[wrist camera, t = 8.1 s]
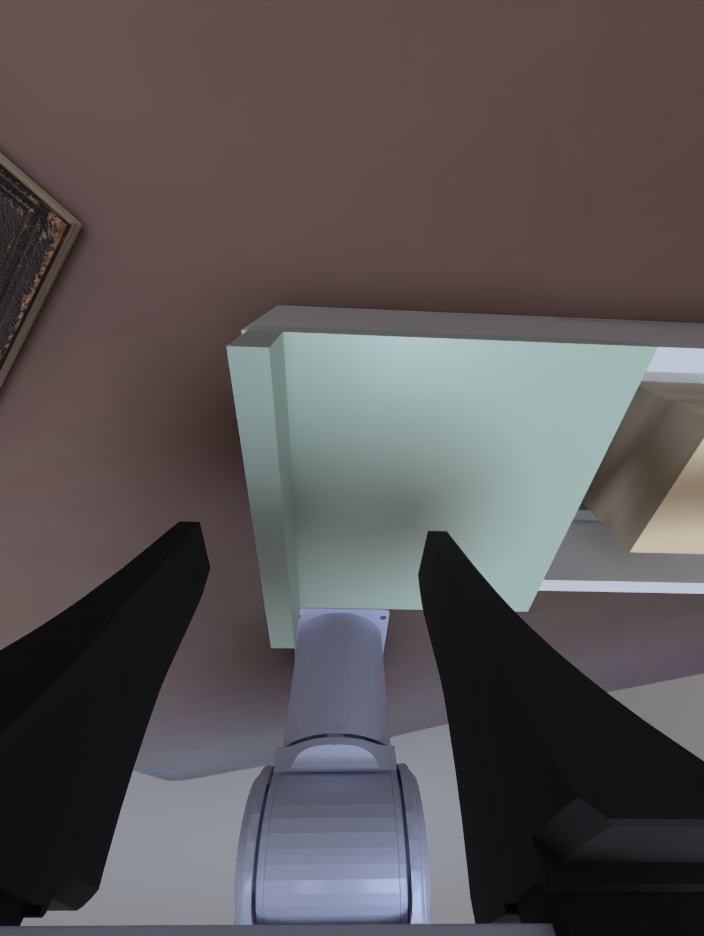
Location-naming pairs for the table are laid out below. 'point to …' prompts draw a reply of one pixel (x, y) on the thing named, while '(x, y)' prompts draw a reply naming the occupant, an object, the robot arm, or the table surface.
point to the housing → (587, 540)
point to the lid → (417, 456)
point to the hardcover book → (27, 255)
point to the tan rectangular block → (655, 472)
